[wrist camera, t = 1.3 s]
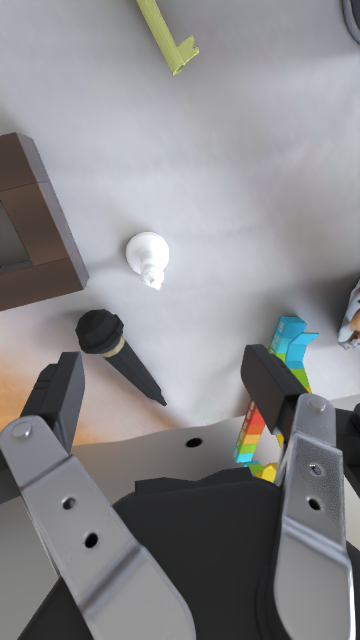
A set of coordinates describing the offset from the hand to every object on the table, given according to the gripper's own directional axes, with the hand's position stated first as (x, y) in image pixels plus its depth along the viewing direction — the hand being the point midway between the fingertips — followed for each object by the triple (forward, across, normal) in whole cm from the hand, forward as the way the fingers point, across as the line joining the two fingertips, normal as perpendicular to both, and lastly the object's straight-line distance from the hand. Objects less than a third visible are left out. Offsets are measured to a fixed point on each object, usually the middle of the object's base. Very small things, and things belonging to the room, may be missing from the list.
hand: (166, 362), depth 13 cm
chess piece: (+20, 0, 0) cm, 20 cm away
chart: (+20, -19, +24) cm, 37 cm away
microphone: (+20, +3, +15) cm, 25 cm away
